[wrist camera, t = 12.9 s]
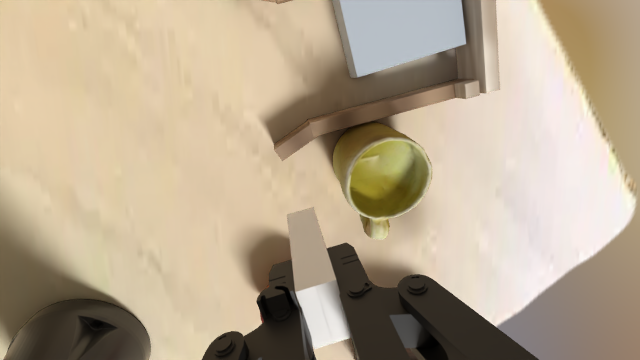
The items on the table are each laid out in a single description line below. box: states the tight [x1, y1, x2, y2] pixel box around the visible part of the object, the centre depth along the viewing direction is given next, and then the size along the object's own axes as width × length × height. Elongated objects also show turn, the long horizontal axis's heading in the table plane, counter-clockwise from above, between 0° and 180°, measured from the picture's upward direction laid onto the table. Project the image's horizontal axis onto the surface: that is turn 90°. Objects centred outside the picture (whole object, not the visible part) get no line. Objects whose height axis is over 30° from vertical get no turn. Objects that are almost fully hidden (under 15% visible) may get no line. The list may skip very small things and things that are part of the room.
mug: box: [333, 122, 432, 240], centre depth 35 cm, size 12×10×10 cm
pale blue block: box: [332, 0, 466, 78], centre depth 33 cm, size 12×8×4 cm, turn 106°
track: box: [263, 0, 500, 161], centre depth 32 cm, size 24×18×5 cm
